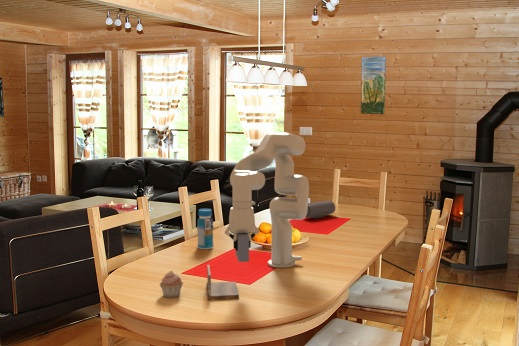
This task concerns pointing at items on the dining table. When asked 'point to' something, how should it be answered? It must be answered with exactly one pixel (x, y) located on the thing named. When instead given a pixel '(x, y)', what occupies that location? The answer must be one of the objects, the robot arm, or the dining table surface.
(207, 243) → the beverage bottle
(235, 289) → the bent wood veneer panel
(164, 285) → the cupcake
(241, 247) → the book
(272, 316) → the dining table surface
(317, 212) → the bluetooth speaker
